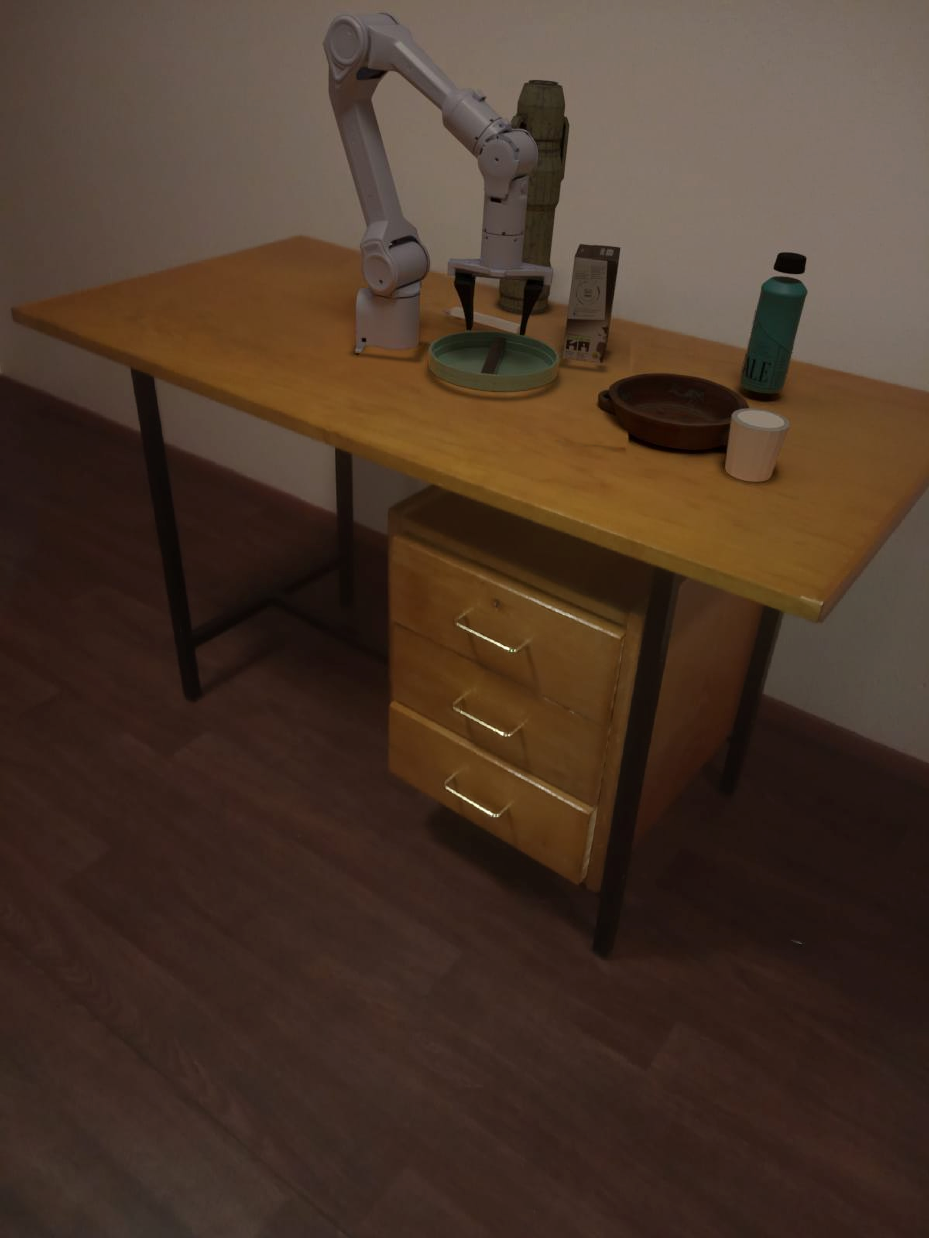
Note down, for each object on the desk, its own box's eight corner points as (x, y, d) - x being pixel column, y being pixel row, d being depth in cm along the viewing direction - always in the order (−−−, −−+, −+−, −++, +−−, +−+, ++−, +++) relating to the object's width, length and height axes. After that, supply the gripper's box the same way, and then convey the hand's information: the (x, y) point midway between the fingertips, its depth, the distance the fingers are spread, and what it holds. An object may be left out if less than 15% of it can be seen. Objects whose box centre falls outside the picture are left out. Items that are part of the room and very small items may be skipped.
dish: (622, 392, 138) (628, 358, 135) (772, 431, 129) (781, 396, 126) (569, 431, 125) (573, 395, 122) (731, 477, 116) (740, 439, 113)
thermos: (563, 307, 170) (589, 84, 150) (519, 319, 163) (540, 86, 143) (527, 295, 175) (547, 77, 155) (482, 306, 168) (497, 79, 148)
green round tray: (417, 391, 133) (417, 367, 131) (440, 347, 149) (441, 325, 147) (551, 406, 132) (554, 382, 130) (560, 360, 147) (563, 338, 145)
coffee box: (602, 371, 144) (618, 261, 135) (560, 365, 145) (573, 256, 136) (607, 351, 152) (622, 246, 143) (567, 347, 153) (579, 241, 143)
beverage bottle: (782, 391, 141) (818, 251, 130) (779, 407, 136) (817, 263, 125) (738, 384, 143) (770, 245, 132) (733, 399, 138) (766, 256, 126)
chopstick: (479, 386, 133) (480, 373, 132) (493, 349, 146) (494, 337, 145) (492, 387, 133) (492, 375, 132) (505, 350, 146) (506, 338, 145)
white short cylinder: (712, 459, 120) (724, 406, 116) (765, 460, 121) (778, 407, 117) (729, 483, 115) (742, 429, 111) (784, 484, 115) (799, 430, 111)
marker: (441, 320, 163) (519, 341, 155) (435, 316, 161) (514, 337, 153) (446, 305, 162) (525, 325, 155) (440, 301, 160) (519, 321, 153)
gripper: (445, 232, 126) (441, 334, 134) (554, 242, 125) (544, 344, 133) (453, 221, 132) (449, 319, 140) (558, 230, 131) (548, 329, 138)
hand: (496, 330), depth 137 cm, fingers open, 7 cm apart
